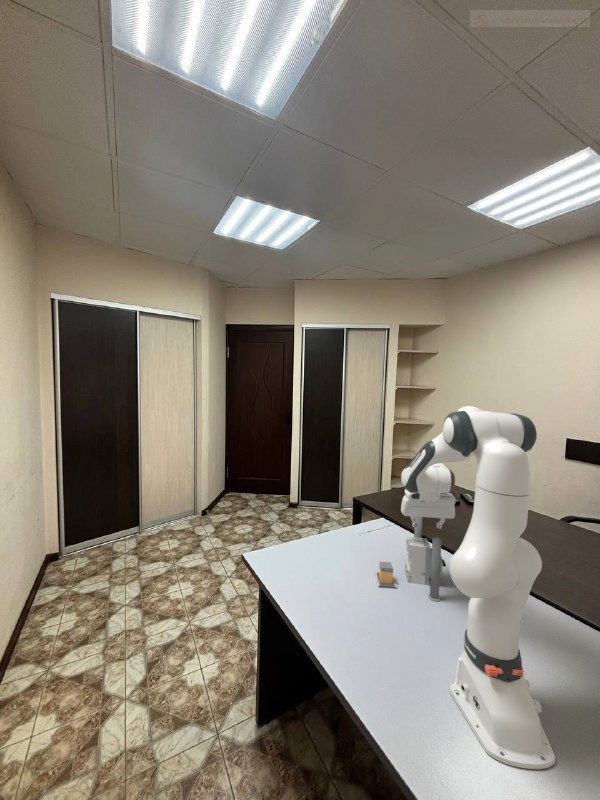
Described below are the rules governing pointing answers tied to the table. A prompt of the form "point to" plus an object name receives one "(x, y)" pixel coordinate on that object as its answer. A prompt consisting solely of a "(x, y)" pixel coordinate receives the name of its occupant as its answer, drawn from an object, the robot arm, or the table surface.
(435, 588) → the cord posts
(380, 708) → the table surface
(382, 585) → the mat
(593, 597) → the table surface
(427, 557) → the circuit breaker
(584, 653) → the table surface
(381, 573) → the orange and grey block
